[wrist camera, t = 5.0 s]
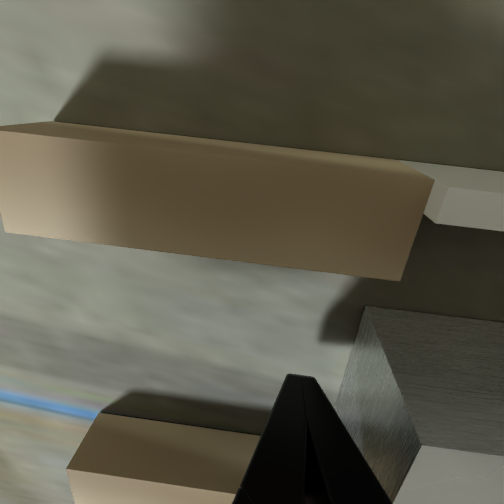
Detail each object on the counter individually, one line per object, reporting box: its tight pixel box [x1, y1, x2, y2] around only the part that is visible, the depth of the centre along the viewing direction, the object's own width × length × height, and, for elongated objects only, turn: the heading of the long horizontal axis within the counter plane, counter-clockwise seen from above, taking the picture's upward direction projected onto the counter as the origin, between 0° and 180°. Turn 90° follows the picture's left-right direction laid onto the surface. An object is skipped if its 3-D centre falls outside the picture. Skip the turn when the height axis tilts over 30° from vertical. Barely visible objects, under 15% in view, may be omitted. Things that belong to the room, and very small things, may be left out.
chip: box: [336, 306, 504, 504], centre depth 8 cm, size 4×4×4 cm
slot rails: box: [0, 121, 435, 504], centre depth 9 cm, size 12×8×2 cm, turn 174°
